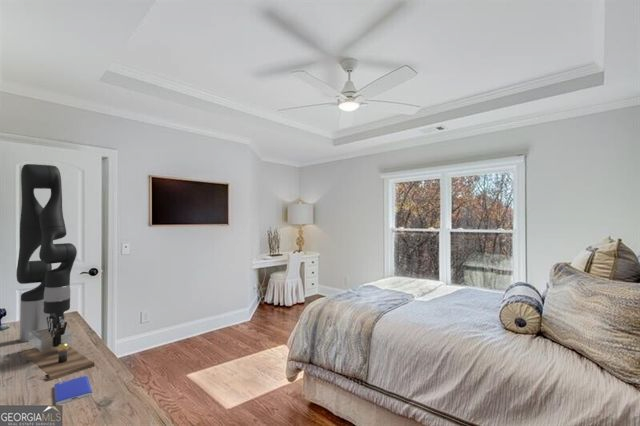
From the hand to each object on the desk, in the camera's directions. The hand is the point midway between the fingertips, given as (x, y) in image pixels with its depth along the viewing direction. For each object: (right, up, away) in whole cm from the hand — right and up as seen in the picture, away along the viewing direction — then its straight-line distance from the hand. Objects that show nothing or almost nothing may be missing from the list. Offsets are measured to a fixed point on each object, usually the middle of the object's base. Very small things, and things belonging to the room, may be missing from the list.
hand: (55, 345), depth 116 cm
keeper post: (+7, -3, -5) cm, 9 cm away
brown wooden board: (+2, -5, -2) cm, 5 cm away
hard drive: (+23, -5, -22) cm, 32 cm away
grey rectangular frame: (-5, -1, +4) cm, 6 cm away
